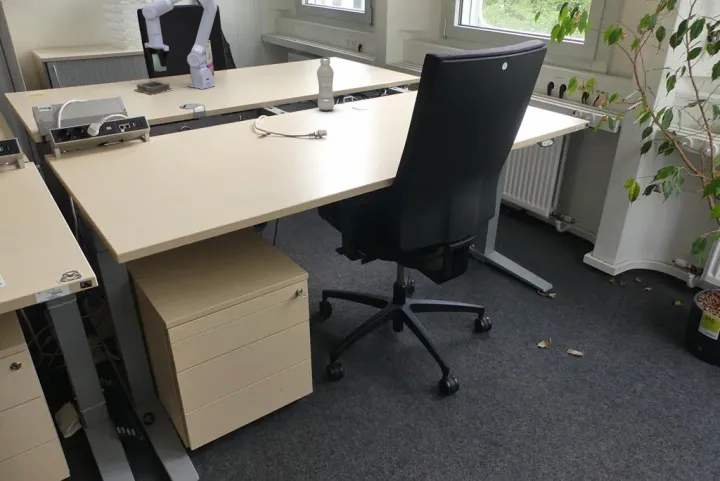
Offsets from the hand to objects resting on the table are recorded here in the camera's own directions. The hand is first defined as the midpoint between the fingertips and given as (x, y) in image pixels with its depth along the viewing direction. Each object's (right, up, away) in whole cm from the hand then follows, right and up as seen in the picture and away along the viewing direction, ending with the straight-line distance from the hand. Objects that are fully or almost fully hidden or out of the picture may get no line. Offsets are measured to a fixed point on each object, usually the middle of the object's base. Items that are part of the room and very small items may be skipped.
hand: (159, 65), depth 247 cm
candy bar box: (+15, +2, +22) cm, 27 cm away
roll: (0, -2, +1) cm, 2 cm away
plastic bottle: (+78, -27, -29) cm, 87 cm away
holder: (-1, -12, -4) cm, 13 cm away
